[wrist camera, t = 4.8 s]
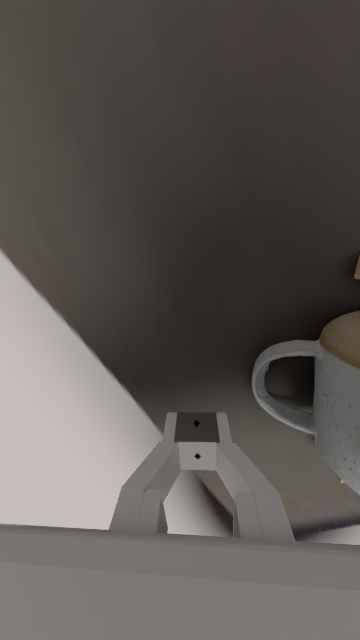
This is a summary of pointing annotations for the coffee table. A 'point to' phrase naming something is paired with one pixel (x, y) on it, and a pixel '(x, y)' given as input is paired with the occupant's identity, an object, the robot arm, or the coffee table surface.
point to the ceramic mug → (325, 394)
